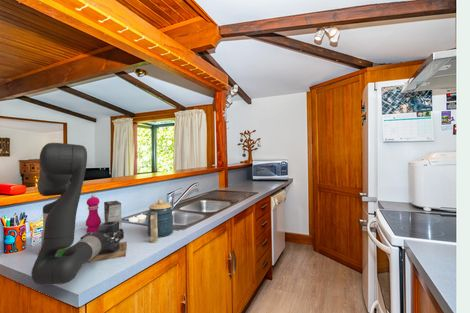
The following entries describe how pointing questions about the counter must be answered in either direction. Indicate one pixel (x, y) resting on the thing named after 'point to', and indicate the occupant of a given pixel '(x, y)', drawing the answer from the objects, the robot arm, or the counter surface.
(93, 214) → the pepper mill
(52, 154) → the robot arm
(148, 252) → the counter surface
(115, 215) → the coffee box
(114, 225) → the grey square container
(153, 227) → the post
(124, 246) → the tray
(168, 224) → the canister
